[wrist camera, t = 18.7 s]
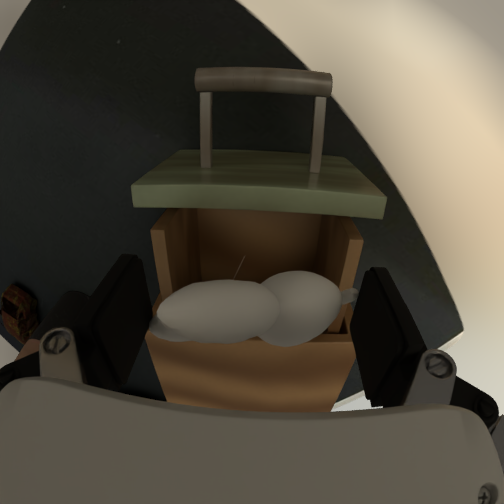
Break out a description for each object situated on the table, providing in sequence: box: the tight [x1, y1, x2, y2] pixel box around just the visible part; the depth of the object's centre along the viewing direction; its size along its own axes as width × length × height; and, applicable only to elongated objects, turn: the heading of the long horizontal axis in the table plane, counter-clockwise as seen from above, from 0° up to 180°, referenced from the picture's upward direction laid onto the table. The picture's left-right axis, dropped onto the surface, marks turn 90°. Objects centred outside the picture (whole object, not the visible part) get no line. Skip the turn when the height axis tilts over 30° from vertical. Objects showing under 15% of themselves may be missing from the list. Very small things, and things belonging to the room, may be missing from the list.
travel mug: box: [15, 291, 90, 361], centre depth 23 cm, size 8×8×20 cm
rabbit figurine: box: [149, 258, 359, 347], centre depth 11 cm, size 6×4×8 cm
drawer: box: [131, 67, 387, 334], centre depth 19 cm, size 20×12×9 cm, turn 178°
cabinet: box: [145, 292, 356, 412], centre depth 25 cm, size 16×14×11 cm
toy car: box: [0, 284, 38, 345], centre depth 31 cm, size 12×7×5 cm, turn 155°
